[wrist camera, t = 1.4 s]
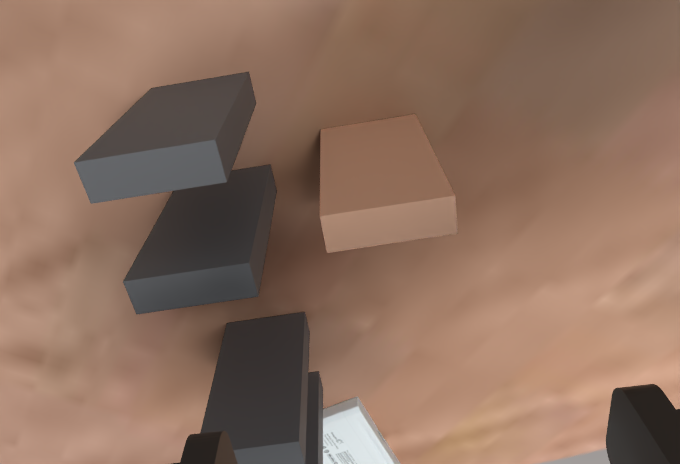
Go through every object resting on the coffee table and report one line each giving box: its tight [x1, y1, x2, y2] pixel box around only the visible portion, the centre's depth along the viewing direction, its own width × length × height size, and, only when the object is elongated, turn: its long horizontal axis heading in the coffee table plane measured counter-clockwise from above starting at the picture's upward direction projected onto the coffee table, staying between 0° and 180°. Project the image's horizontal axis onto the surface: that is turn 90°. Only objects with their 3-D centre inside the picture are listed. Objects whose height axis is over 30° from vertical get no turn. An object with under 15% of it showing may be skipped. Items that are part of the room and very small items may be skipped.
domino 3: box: [201, 312, 310, 464], centre depth 31 cm, size 5×2×10 cm, turn 99°
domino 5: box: [320, 114, 458, 253], centre depth 25 cm, size 5×2×10 cm, turn 99°
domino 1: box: [74, 72, 256, 204], centre depth 24 cm, size 5×2×10 cm, turn 99°
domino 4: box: [305, 371, 323, 464], centre depth 34 cm, size 5×2×10 cm, turn 99°
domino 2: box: [123, 165, 277, 314], centre depth 26 cm, size 5×2×10 cm, turn 99°
